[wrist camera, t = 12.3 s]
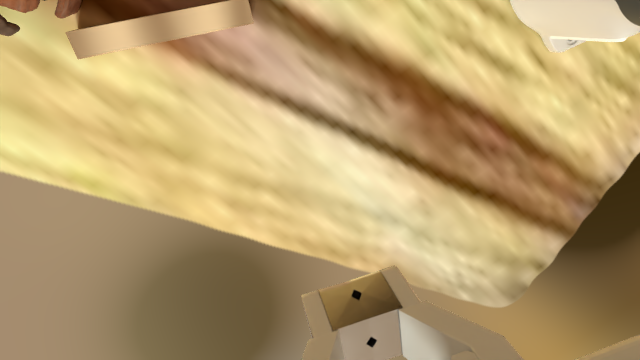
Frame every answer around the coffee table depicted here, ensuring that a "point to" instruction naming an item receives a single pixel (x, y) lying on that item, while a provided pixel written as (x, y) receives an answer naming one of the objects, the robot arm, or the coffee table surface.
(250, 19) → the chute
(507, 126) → the coffee table surface
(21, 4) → the broken brown clay pot
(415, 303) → the robot arm
